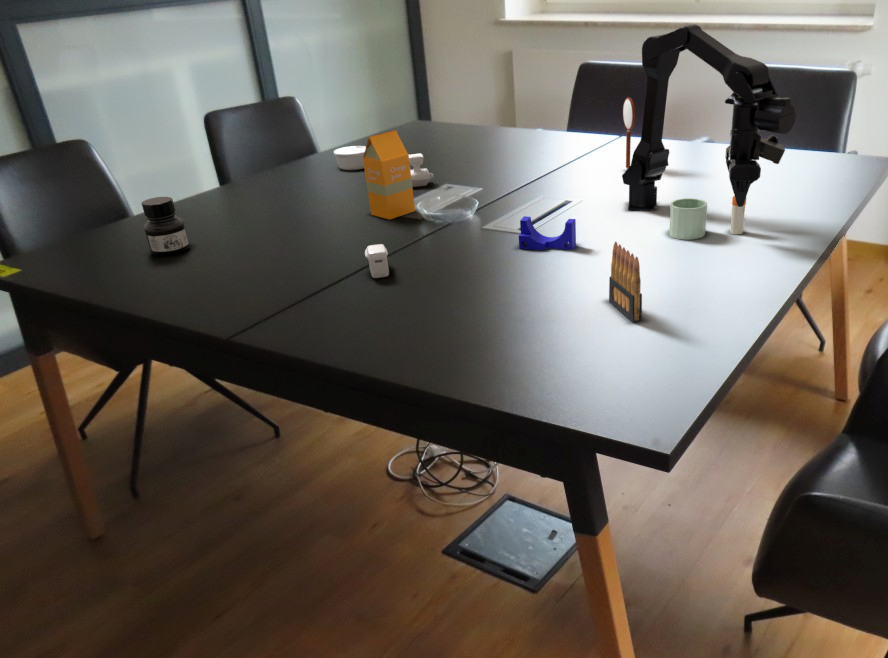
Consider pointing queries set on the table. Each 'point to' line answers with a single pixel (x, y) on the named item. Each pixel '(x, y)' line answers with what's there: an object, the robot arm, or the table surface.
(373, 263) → the power adapter
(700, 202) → the pen holder
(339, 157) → the ramekin
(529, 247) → the blue mounting bracket
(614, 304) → the ammunition clip
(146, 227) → the ink bottle
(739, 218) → the glue stick
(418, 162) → the stamp
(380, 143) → the orange juice
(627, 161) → the magnifying glass
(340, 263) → the table surface
